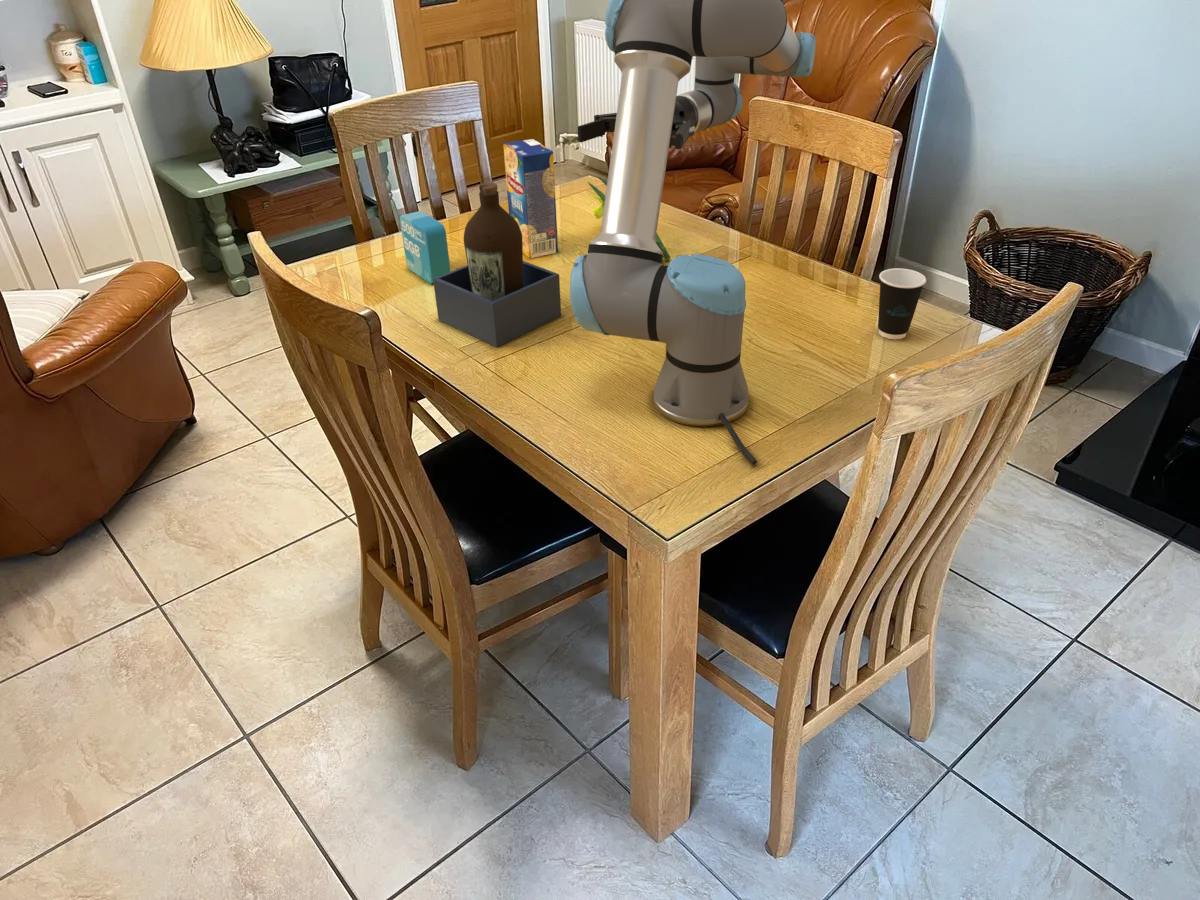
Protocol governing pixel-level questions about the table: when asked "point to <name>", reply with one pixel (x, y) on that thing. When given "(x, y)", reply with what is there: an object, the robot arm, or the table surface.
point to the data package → (425, 245)
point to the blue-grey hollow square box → (498, 305)
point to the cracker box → (532, 195)
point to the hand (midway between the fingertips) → (607, 141)
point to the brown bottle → (493, 248)
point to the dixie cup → (898, 301)
